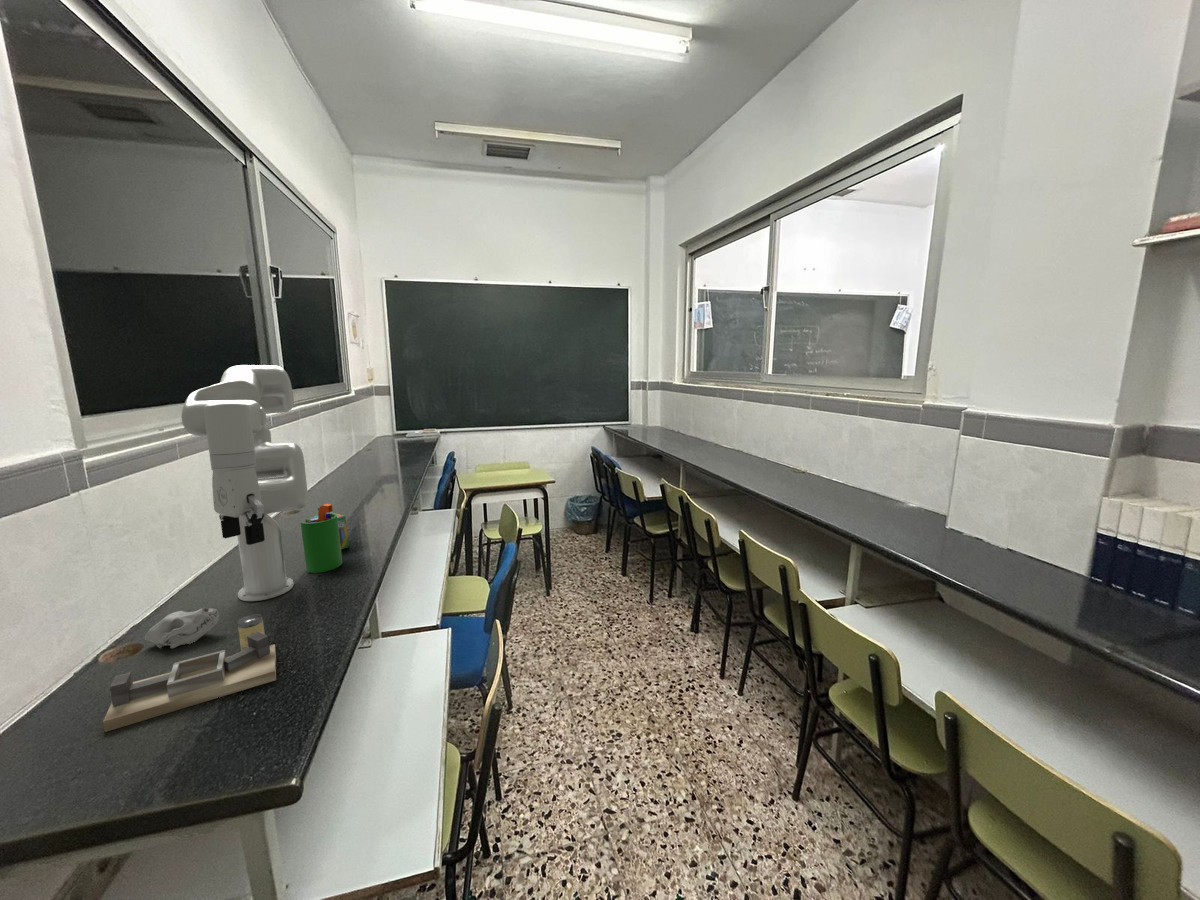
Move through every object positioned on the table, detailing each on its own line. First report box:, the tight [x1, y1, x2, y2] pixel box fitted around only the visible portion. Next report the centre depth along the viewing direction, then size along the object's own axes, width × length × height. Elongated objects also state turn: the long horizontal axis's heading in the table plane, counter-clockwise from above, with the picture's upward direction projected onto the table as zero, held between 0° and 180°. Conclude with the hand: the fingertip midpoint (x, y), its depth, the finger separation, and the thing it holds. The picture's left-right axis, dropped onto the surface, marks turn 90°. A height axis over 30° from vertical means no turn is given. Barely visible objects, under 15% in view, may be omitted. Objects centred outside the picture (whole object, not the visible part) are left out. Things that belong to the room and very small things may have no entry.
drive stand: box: [102, 632, 277, 733], centre depth 90 cm, size 11×24×6 cm, turn 125°
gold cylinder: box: [237, 613, 266, 651], centre depth 102 cm, size 4×4×7 cm
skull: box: [144, 607, 220, 649], centre depth 105 cm, size 8×9×12 cm
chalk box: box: [304, 507, 350, 551], centre depth 158 cm, size 9×9×15 cm
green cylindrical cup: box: [300, 503, 343, 574], centre depth 144 cm, size 10×9×20 cm
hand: (243, 539), depth 100 cm, fingers open, 9 cm apart
